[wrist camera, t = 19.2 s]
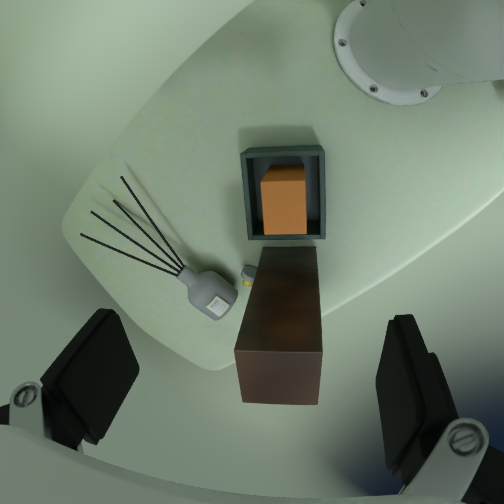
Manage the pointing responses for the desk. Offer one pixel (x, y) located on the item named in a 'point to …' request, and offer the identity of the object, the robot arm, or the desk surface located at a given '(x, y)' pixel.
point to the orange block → (284, 200)
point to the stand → (282, 330)
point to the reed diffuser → (190, 274)
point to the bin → (314, 164)
